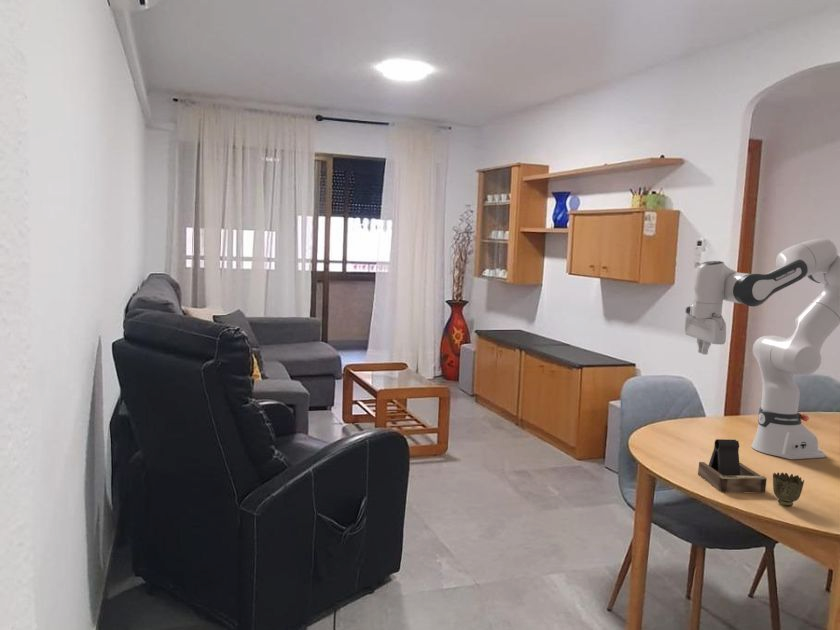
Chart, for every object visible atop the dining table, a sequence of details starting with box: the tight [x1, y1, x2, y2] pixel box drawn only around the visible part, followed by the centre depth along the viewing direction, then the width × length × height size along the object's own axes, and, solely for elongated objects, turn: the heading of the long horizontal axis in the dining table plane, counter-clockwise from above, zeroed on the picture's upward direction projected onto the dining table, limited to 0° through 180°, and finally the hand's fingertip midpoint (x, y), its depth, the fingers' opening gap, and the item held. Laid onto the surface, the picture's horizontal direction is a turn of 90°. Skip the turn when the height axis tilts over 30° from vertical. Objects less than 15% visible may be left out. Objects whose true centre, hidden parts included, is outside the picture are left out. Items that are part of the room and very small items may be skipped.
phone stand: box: [708, 438, 741, 476], centre depth 197 cm, size 9×6×12 cm, turn 4°
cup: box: [772, 472, 805, 508], centre depth 178 cm, size 8×7×8 cm
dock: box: [697, 461, 768, 494], centre depth 193 cm, size 13×14×4 cm
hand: (702, 353), depth 214 cm, fingers closed
